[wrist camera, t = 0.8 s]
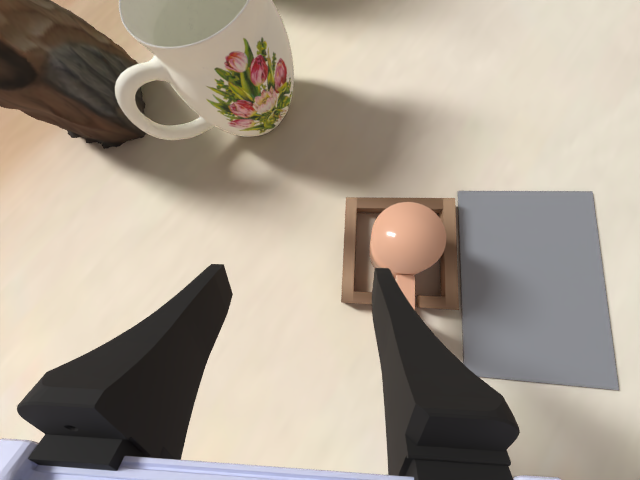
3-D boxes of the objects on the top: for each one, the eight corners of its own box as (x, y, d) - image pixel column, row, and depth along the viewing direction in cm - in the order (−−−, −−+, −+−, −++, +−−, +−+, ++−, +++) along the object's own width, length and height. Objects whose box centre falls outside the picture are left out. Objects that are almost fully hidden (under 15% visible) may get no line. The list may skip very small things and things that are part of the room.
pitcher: (163, 131, 33) (30, 18, 20) (285, 37, 33) (235, -138, 20) (211, 199, 30) (93, 121, 17) (344, 96, 31) (330, -60, 17)
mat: (616, 389, 22) (619, 390, 22) (464, 374, 24) (465, 375, 23) (590, 192, 25) (592, 191, 25) (457, 191, 27) (458, 191, 27)
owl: (154, 142, 33) (-139, -82, 14) (59, 178, 34) (-341, 18, 15) (139, 57, 36) (-119, -223, 17) (51, 93, 37) (-288, -134, 18)
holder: (453, 309, 25) (458, 309, 23) (342, 302, 26) (341, 302, 25) (450, 203, 27) (455, 198, 25) (346, 202, 28) (346, 197, 27)
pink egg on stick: (425, 328, 25) (449, 339, 18) (367, 324, 26) (368, 333, 19) (424, 227, 27) (445, 202, 20) (370, 226, 27) (372, 201, 21)
